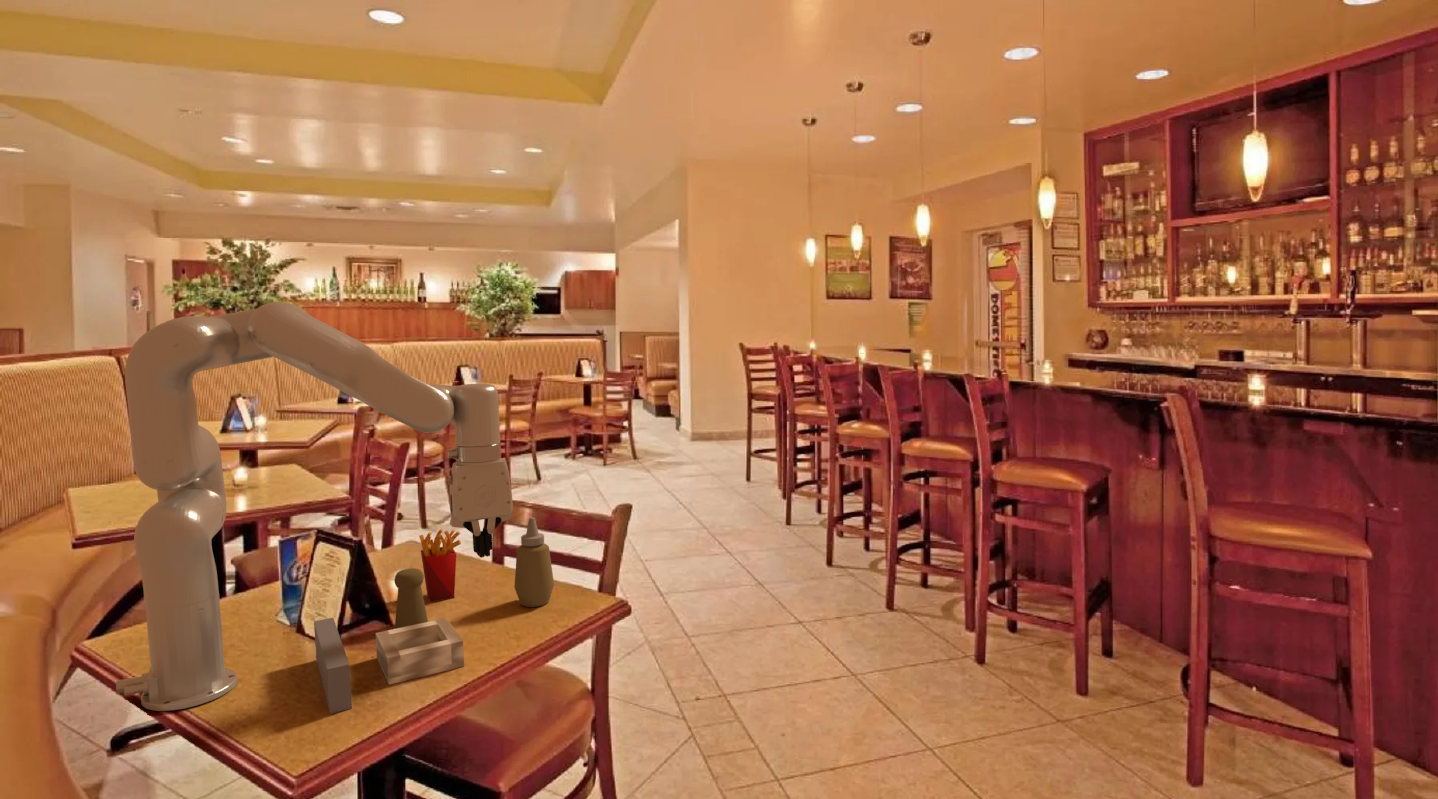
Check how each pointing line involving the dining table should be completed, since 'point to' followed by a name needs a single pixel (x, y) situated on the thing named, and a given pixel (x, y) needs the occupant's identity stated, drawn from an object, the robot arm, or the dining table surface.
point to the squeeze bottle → (533, 568)
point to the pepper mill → (409, 598)
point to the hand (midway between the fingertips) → (483, 554)
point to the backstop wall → (332, 665)
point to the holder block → (419, 650)
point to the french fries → (439, 565)
